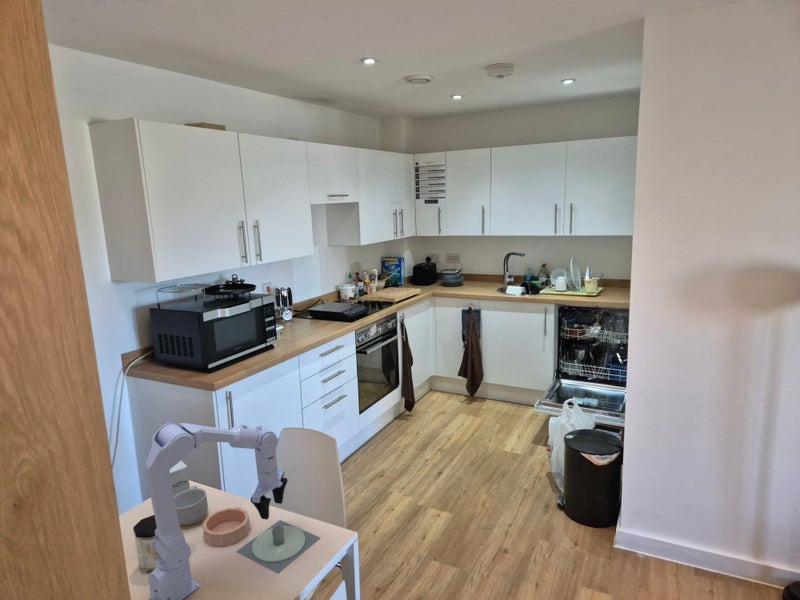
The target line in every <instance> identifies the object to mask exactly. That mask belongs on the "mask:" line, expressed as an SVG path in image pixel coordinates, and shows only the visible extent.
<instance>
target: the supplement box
mask: <svg viewBox="0 0 800 600" xmlns="http://www.w3.org/2000/svg"><path fill="white" fill-rule="evenodd" d="M170 477H171V483H172V488H173V493H174V496H175V495H177V494H178V493H180V492H182V491H185V490H188V489H191V486H190V477H189V470H188V466H187V464H186V463H185V462H184V461H183V460H181V461H180V462H179V463H177V464H176V465H175V466H174V467H172V468H171V469H170Z"/></svg>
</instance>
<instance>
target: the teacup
mask: <svg viewBox="0 0 800 600" xmlns="http://www.w3.org/2000/svg"><path fill="white" fill-rule="evenodd" d="M207 498H208V497H207V491H206V490H205V489H204V488H200V487H198V486H197V485H192V486H190V489H188V490H185V491H182V492H180V493H178V494H177V495H175V496H174V499H175V504H176V510H177V515H178V520H179V525H181V526H187V527H189V526H194V525H196V524H197V523H199V522H200V521H202V520H203V518H205V516H206V515H207V513H208V510H209V503H208V499H207Z"/></svg>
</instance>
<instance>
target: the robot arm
mask: <svg viewBox="0 0 800 600" xmlns="http://www.w3.org/2000/svg"><path fill="white" fill-rule="evenodd" d="M179 424H180V425H179ZM179 424H178V423H175V422H168V423H165V424H163V425H162V426H160V427H159V428H158V430H157V431H156V432H155V433H154V435H152V442H151V443H152V444H151V447H150V450H149V453H148V455H147V458H146V461H145V465H144V467H145V474H146V478H147V479H146V480H147V483H148V484H147V485H148V489H149V496H150V499H151V505H152V510H153V514H154V520H155V525H156V529H154V536H155V537H154V539H153V543H152V547H153V550H154V551H155V552H156V553H157V554H158V555H159V556H158V559H157V560H158V561H157V566H156V567H155V568H154V569H153V570H152V571H151V572H150V573H149V574H148V579H147V580H148V586H149V593H150V596H149V600H184V599H185V598H186V597H188V596H189V595H191V594H192V593H193V592H195V591H196V590H198V589H199V588H200V583H198V582H196V581H195V580H193V579H192V571H191V562H190V558H191V554H192V548H191V546H190V545H189V543H187V542H186V538H185V535H184V532H183V531H182V528H181V526H180V524H179V520H178V515H177V510H176V504H175V499H174V493H173V488H172V483H171V477H170V469H171V468H172V467H174V466H175V465H176V464H177V463H179V462H180V461H183V460H184V459H185V458H186V457H187V456H189V455H190V454H191V453H192V452H193V450H194V449H196V450H197V449H199V448H200V446H201V444H203V443H210V442H211V443H228V445H229V446H230V448H237V449H250V450H251V449H252V450H254V456H255V467H256V473H257V480H258V481H257V485H256V487H255V490H254V492H253V494H252V495H251V497H250V503H251V504H252V505H253V506H254V507H255V508H256V510H257V512H258V514H259V516H260V519H262V520H269V517H270V503H271V500H272V498H271V497H270V498H269V497H267V496H265V495H266V494H268V493H269V492H271V491H272V496H273V501H274V504H283V501H284V493H285V489H286V486H287V483H288V482H289V479H288V478H286V477H285V474H286V473H285V469H283V468H278V460H277V451H276V449H277V446H278V445H279V444H278V443H279V440H280V439H279V438H278V436H277V434H276V433H275V432H273V431H272V430H270V429H268V428H267V427H265V426H261V425H257V426H255V427H252V426H251V427H250V426H247V425H246V424H244V423H240V425H234V426H233V427H232V428H230V429H227V428H221V427H214V426H208V425H207V426H206V425H201V424H193V423H188V422H179Z"/></svg>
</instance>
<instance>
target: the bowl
mask: <svg viewBox="0 0 800 600" xmlns="http://www.w3.org/2000/svg"><path fill="white" fill-rule="evenodd" d="M250 530H251V522H250V516H249V513H248V511H247V510H245V509H243V508H241V507H226V508H223V509H219V510H217V511H215V512H213V513H211V514H210V515H208V516H207V517H206V518H205V519H204V521H203V522H202V531H203V539H204V542H205V544H207V545H209V546H211V547H215V548H216V547H217V548H220V547H228V546H231V545H234V544H237V543H239V542H240V541H242V540H243V539H244V538H246V537H247V535H248V534H249V532H250Z"/></svg>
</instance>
